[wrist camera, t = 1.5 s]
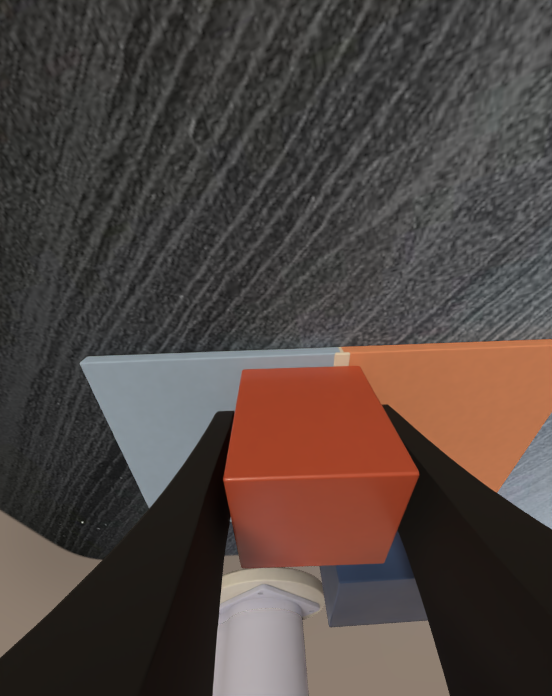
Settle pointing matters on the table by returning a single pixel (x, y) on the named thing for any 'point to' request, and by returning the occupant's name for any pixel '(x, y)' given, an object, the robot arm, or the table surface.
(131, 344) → the table surface
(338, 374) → the terracotta block
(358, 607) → the slate blue block
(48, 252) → the table surface
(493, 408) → the mat
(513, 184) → the table surface
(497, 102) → the table surface
